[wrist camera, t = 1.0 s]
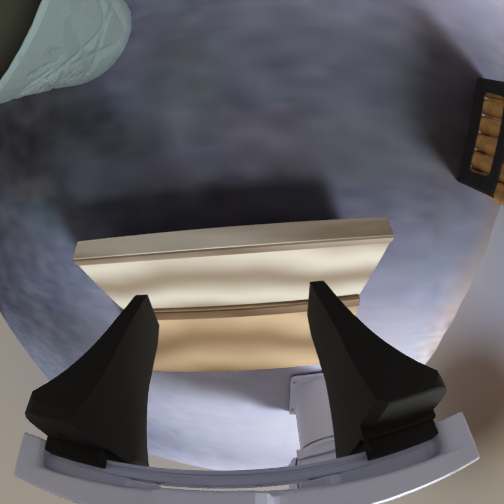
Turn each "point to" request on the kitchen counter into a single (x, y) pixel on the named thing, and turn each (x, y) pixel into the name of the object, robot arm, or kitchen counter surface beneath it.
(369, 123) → the kitchen counter surface
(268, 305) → the laid plank
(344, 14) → the kitchen counter surface
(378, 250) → the plank
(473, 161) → the ammunition clip
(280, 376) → the kitchen counter surface
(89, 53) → the green cup
